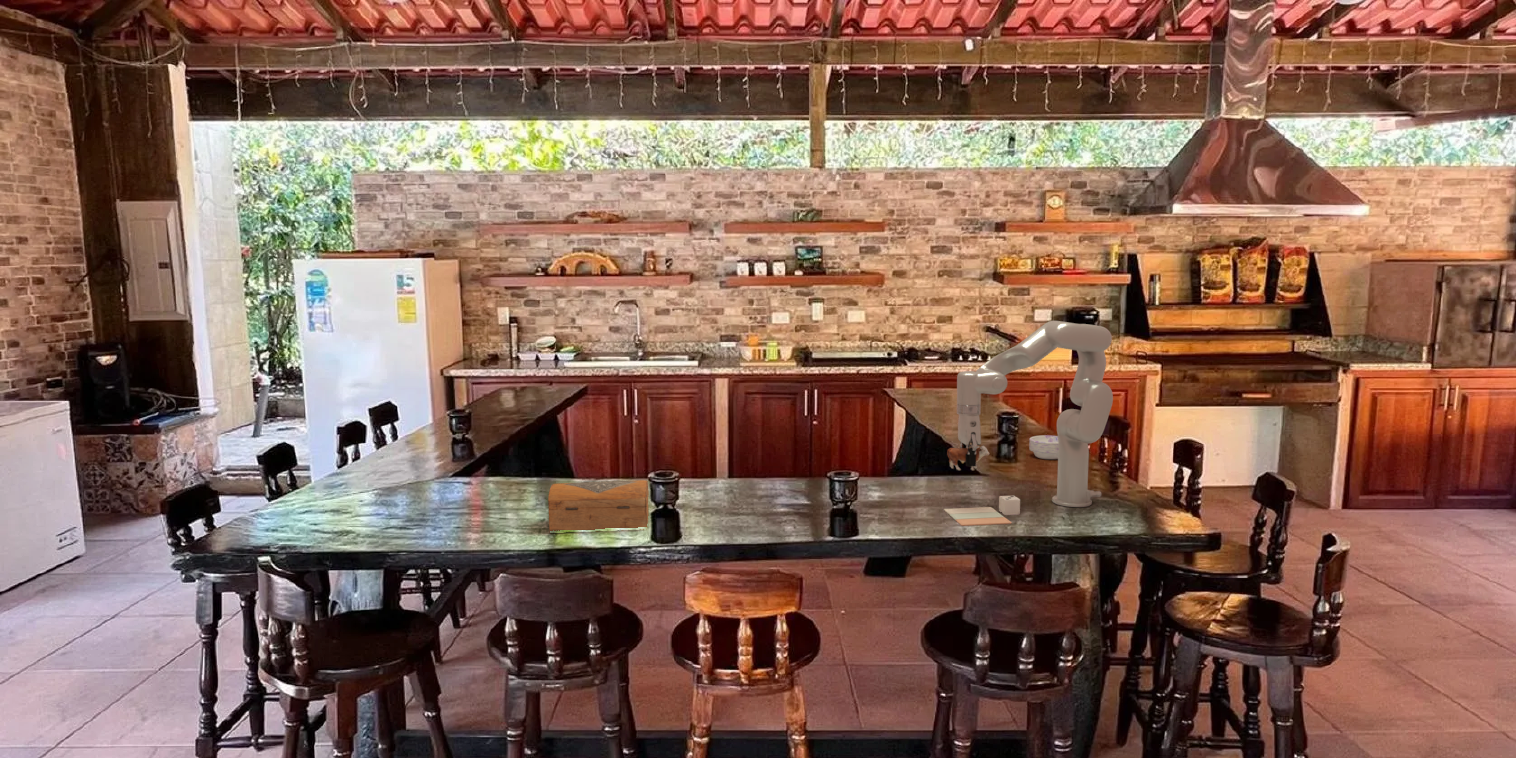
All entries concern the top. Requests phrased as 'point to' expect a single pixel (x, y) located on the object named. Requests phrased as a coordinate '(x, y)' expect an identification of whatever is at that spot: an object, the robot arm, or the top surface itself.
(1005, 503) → the die
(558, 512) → the wooden box
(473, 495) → the top surface
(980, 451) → the bull figurine
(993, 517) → the game board
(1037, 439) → the paper bowls
